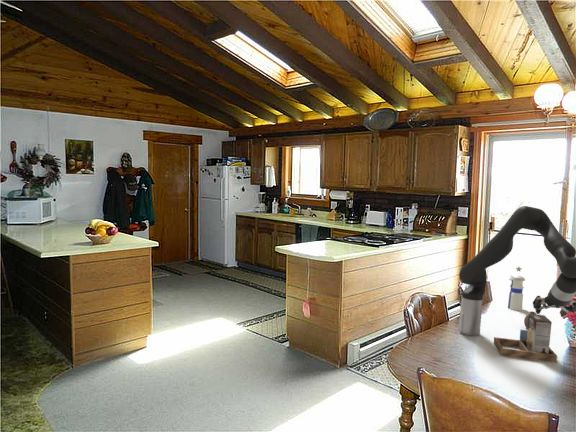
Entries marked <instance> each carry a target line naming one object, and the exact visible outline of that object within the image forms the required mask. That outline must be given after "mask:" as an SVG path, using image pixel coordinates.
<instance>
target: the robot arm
mask: <svg viewBox="0 0 576 432" xmlns="http://www.w3.org/2000/svg"><path fill="white" fill-rule="evenodd" d="M520 230H528V231H535V232H537V233H538V234H540V235H541V236H542V237H543V245H544V247H545V248H546V250H547V251H548V253H550V254H551V256H553V258H554V259H555V260H556V263H557V265H558V267H559V271H560V272H561V273H560V274H559V275H558V277H557V279H556V280H555V282H553V284H552V286H551V287H550V289H549V291H548V294H547V295H546V296H545V297H541V295H536V297H535V298H534V300H533V301H532V305H533V306H532V307H533V309H535V313H536V315H541V311H542V310H544V309H545V310H547V309H550V308H555V309H560V311H559V313H560V314H559V315H560V316H561V317H564V316H566V315H567V314H568V313H569V312H571V313H574V312H576V298H575V297H576V248H575V247H574V246H573V245H572V244H571V243H570V242H569V241H568V240H567V239H566V238H565V237H564V236H563V235H562V234H561V233H560V232H559V231H558V229H557V228H556V226H555V225H554V223H553V222H552V220H551V219H550V217H549V215H547V213H546V212H545V211H544V210H543V209H541V208H538V207H533V206H528V205H521V206H519V207H518V208H516V209H515V211H514V212H513V213H512V215H510V217H509V218H508V219H507V221H506V222H505V224H504V225H503V226H502V227H501V228H500V230H499V231H498V232H497V233H496V234H495V235H494V236H493V237H492V238H491V239H490V240H489V241H488V242H487V243H486V244H485V246H484V247H483V248H482V249H481V250H480V251H479V252H478V253H477V254H476V255H475V256H474V257H473V258H472V259H470V261H468V262H467V263H466V264H464V265H463V266H462V267H461V269H460V271H459V273H458V276H459V280H460V282H461V283H462V284H465V285H469V286H468V287H467V288H465V289H464V290H462V293H461V303H460V310H459V319H458V320H459V322H458V331H459V333H460V334H463V335H466V336H471V337H474V336H475V337H476V336H479V335H481V326H482V325H481V323H482V312H483V310H482V309H483V300H484V296H485V292H486V285H487V278H488V277H487V275H488V274H487V271H486V269H488V268H489V267H492V266H494V265H496V264H498V263H500V262H501V261H502V260H504V259H505V258H506V257H507V256H508V255H509V254H510V253H511V252H512V250H513V246H514V237H515V235H516V234H518V232H520Z"/></svg>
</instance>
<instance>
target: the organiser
mask: <svg viewBox="0 0 576 432" xmlns="http://www.w3.org/2000/svg"><path fill="white" fill-rule="evenodd" d="M527 330H528V329H522V328H521V329H520V331H519V339H514V338H505V337H504V338H502V337H497V336H494V337H493V346H494V347H495V348H496V350H497V352H498V353H499V355H500V356H501V357H502V356H503V357H508V358H509V357H510V358H518V359H526V360H532V361H541V362H547V363H555V364H557V362H558V361H557V360H558V354H557V353H556V352H554V350H553V349H552V348H551V347H550V346H549V354H546V353H539V352H531V351H529V350H528V349H527V348H526V341H527ZM503 346H505V347H513V348H518V349H512V348H505V347H503Z"/></svg>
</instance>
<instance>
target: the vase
mask: <svg viewBox="0 0 576 432" xmlns="http://www.w3.org/2000/svg"><path fill="white" fill-rule="evenodd" d="M529 314H534V315H537V313H536V311H531V310H530V311H529V312H528V314H527V315H525V316H524V320H523V324H524V326H525V328H526V330H528V318H529Z"/></svg>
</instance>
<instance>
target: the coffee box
mask: <svg viewBox="0 0 576 432" xmlns="http://www.w3.org/2000/svg"><path fill="white" fill-rule="evenodd" d="M528 314H529V313H528ZM552 323H553V322H552V321H551V320H550V319H549V318H548V317H547V316H546V315H544V314H536V315H534V314H529V318H528V329H526V330H527V341H526V348H527V349H528V350H529V351H531V352H539V353H546V354H549V347H550V343H551V333H552Z"/></svg>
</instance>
